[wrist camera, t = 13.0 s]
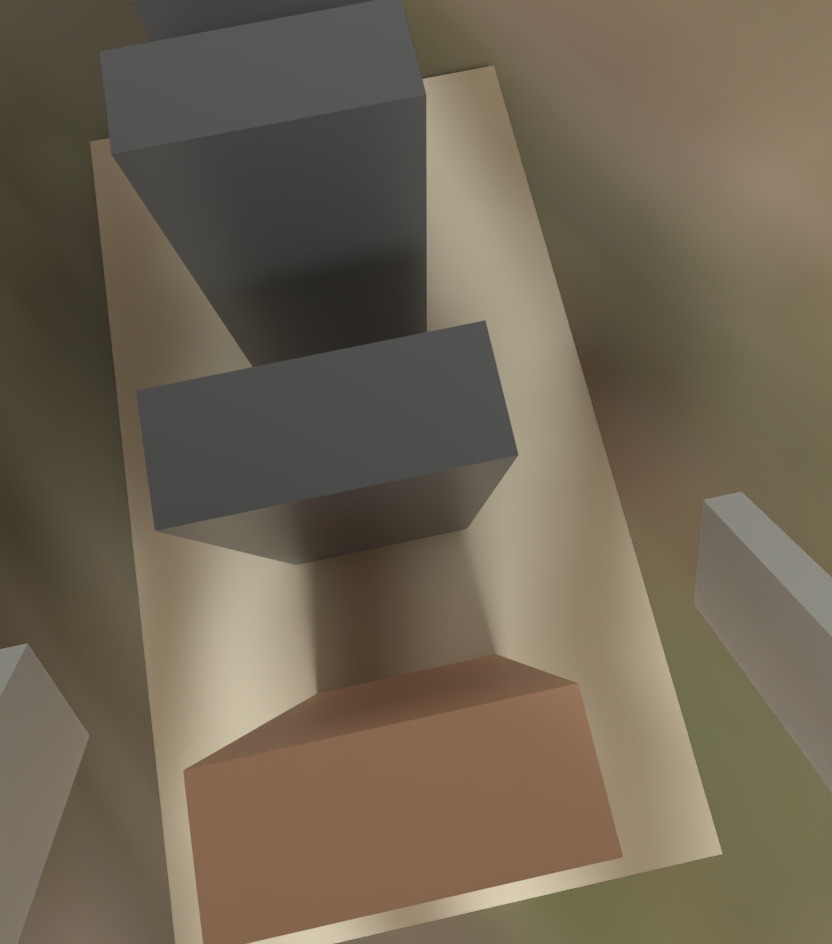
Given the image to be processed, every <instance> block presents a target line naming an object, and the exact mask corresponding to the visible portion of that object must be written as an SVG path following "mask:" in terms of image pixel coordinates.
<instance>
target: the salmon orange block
mask: <svg viewBox="0 0 832 944" xmlns="http://www.w3.org/2000/svg"><path fill="white" fill-rule="evenodd" d="M183 774H184V783H185V792H186V800H187V809H188V818H189V826H190V835H191V844H192V852H193V861H194V870H195V879H196V887H197V896H198V905H199V913H200V922H201V931H202V939H203V944H247V943H252V942H256V941H261V940H265V939H269V938H274V937H278V936H282V935H287V934H291V933H295V932H300V931H304V930H308V929H313V928H317V927H321V926H326V925H330V924H335V923H339V922H343V921H348V920H352V919H356V918H361V917H365V916H369V915H374V914H378V913H382V912H387V911H391V910H395V909H400V908H404V907H409V906H413V905H417V904H422V903H426V902H430V901H435V900H439V899H443V898H448V897H452V896H456V895H461V894H465V893H469V892H474V891H478V890H483V889H487V888H491V887H496V886H500V885H504V884H509V883H513V882H517V881H522V880H526V879H530V878H535V877H539V876H543V875H548V874H552V873H557V872H561V871H565V870H570V869H574V868H578V867H583V866H587V865H591V864H596V863H600V862H604V861H609V860H613V859H617V858H622V857H623V855H622V851H621V847H620V843H619V839H618V836H617V832H616V828H615V824H614V820H613V816H612V812H611V808H610V804H609V801H608V797H607V793H606V789H605V785H604V781H603V777H602V773H601V769H600V765H599V762H598V758H597V754H596V750H595V746H594V742H593V738H592V734H591V730H590V727H589V723H588V719H587V715H586V711H585V707H584V703H583V699H582V695H581V692H580V688H579V684H578V683H576V682H573V681H570V680H568V679H565V678H562V677H559V676H556V675H554V674H551V673H548V672H545V671H542V670H539V669H537V668H534V667H531V666H528V665H525V664H523V663H520V662H517V661H514V660H511V659H508V658H506V657H503V656H500V655H497V654H495V655H490V656H486V657H481V658H477V659H472V660H468V661H463V662H458V663H454V664H449V665H445V666H440V667H435V668H431V669H426V670H422V671H417V672H412V673H408V674H403V675H399V676H394V677H390V678H385V679H380V680H376V681H371V682H367V683H362V684H357V685H353V686H348V687H344V688H339V689H335V690H330V691H325V692H321V693H317V694H315V695H313V696H312V697H310V698H308V699H306V700H305V701H303V702H301V703H299V704H298V705H296V706H294V707H292V708H291V709H289V710H287V711H285V712H284V713H282V714H280V715H279V716H277V717H275V718H273V719H272V720H270V721H268V722H266V723H265V724H263V725H261V726H259V727H258V728H256V729H254V730H252V731H251V732H249V733H247V734H246V735H244V736H242V737H240V738H239V739H237V740H235V741H233V742H232V743H230V744H228V745H226V746H225V747H223V748H221V749H219V750H218V751H216V752H214V753H213V754H211V755H209V756H207V757H206V758H204V759H202V760H200V761H199V762H197V763H195V764H193V765H192V766H190V767H188V768H186V769H185V770H183Z"/></svg>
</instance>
